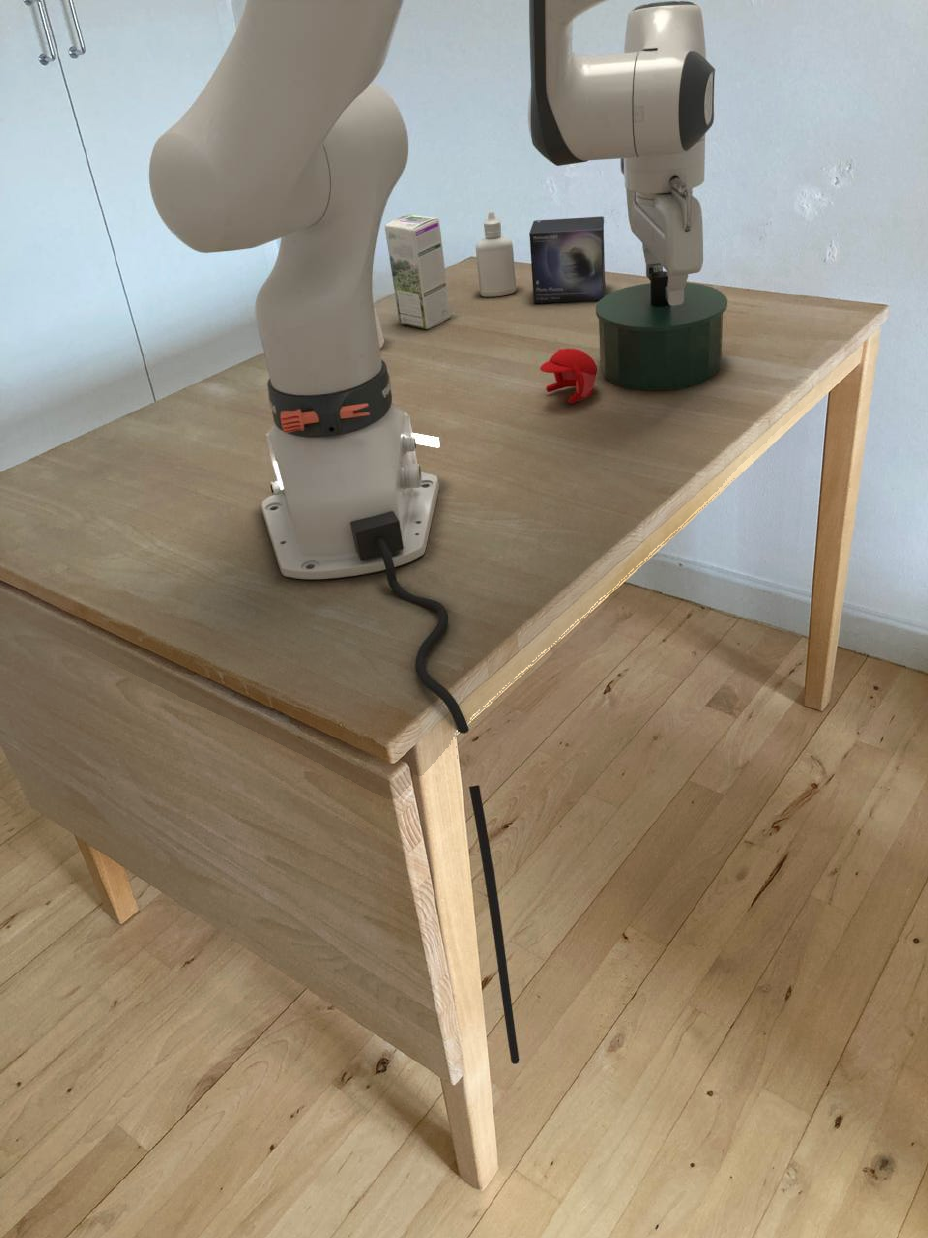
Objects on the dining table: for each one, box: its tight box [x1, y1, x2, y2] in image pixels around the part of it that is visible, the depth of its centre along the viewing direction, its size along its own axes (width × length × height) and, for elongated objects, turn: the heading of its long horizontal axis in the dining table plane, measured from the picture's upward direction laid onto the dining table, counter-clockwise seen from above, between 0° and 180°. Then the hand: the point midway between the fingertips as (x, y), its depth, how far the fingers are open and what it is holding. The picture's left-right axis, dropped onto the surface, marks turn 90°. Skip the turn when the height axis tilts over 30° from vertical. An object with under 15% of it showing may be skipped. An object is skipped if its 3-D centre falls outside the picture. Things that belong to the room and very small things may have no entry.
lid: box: [595, 270, 728, 332], centre depth 124 cm, size 16×16×5 cm
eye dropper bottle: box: [475, 211, 517, 298], centre depth 156 cm, size 4×6×12 cm
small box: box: [528, 216, 607, 304], centre depth 152 cm, size 11×6×10 cm, turn 81°
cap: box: [539, 348, 598, 405], centre depth 123 cm, size 8×6×6 cm
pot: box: [598, 313, 724, 392], centre depth 127 cm, size 15×15×8 cm
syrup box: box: [384, 214, 452, 330], centre depth 148 cm, size 6×6×14 cm
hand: (664, 290), depth 124 cm, fingers open, 8 cm apart
